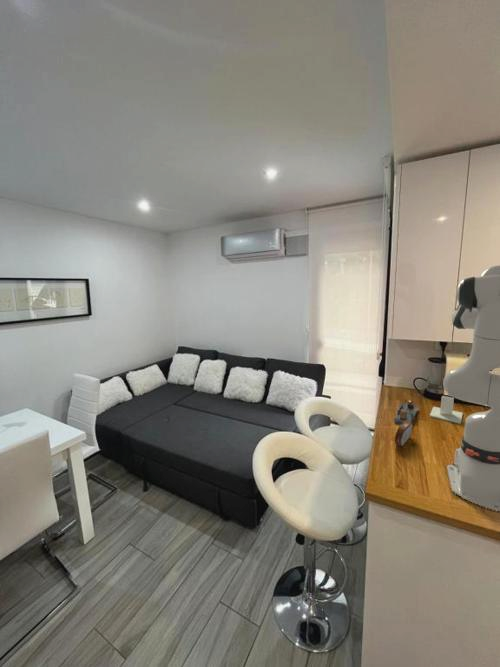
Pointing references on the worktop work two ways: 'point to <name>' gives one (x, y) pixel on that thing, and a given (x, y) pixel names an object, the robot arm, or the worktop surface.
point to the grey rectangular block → (446, 406)
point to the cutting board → (455, 416)
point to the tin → (403, 433)
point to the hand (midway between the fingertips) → (482, 362)
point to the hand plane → (406, 412)
